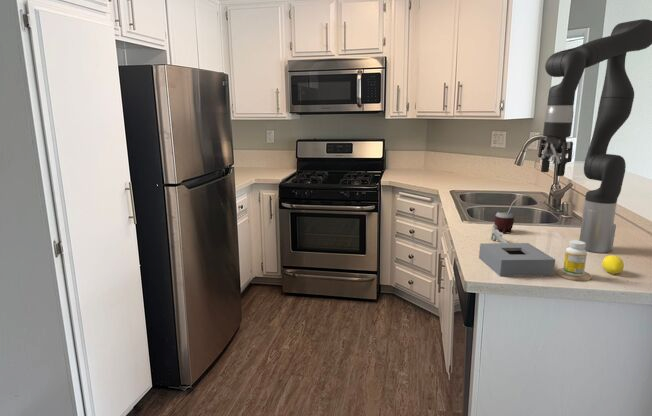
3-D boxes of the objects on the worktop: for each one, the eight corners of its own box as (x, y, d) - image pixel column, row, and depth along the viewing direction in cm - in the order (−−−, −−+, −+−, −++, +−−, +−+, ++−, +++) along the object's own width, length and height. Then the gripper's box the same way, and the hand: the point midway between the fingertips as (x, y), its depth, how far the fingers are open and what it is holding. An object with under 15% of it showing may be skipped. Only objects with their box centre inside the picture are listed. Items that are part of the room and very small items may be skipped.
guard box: (526, 257, 142) (528, 243, 141) (553, 275, 127) (555, 259, 125) (478, 257, 142) (480, 243, 140) (499, 276, 126) (501, 260, 125)
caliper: (490, 239, 162) (491, 223, 161) (493, 239, 162) (494, 223, 161) (514, 258, 142) (516, 239, 141) (518, 258, 142) (520, 239, 141)
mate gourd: (492, 229, 176) (495, 193, 173) (512, 230, 174) (516, 194, 171) (495, 234, 169) (498, 196, 165) (516, 235, 167) (520, 197, 164)
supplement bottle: (580, 278, 123) (584, 246, 121) (560, 273, 127) (564, 241, 125) (586, 273, 127) (590, 242, 125) (566, 268, 130) (570, 238, 128)
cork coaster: (578, 269, 131) (579, 267, 131) (598, 281, 123) (598, 279, 122) (550, 270, 131) (550, 268, 131) (567, 281, 122) (567, 279, 122)
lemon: (624, 279, 126) (628, 262, 124) (603, 276, 127) (606, 260, 126) (618, 268, 132) (622, 252, 130) (598, 265, 134) (601, 250, 132)
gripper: (585, 121, 124) (577, 177, 127) (557, 120, 138) (551, 170, 141) (559, 121, 123) (552, 177, 127) (534, 120, 137) (528, 170, 141)
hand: (551, 173), depth 134 cm, fingers open, 8 cm apart
